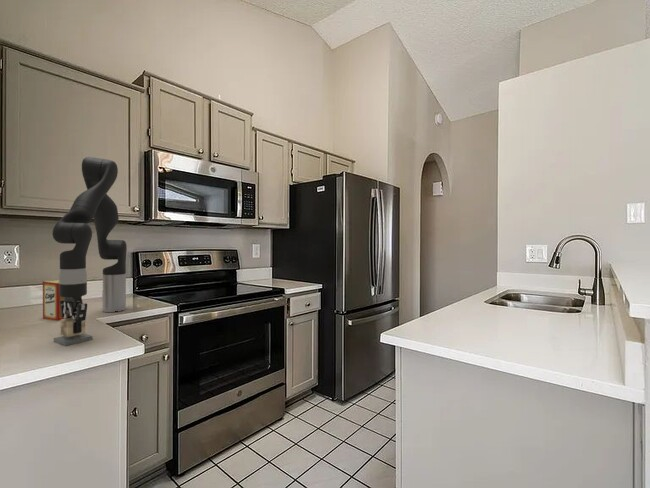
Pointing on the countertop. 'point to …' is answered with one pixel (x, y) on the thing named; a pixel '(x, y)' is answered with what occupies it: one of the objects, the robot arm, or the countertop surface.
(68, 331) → the oak block
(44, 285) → the baking soda box
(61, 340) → the base plate
